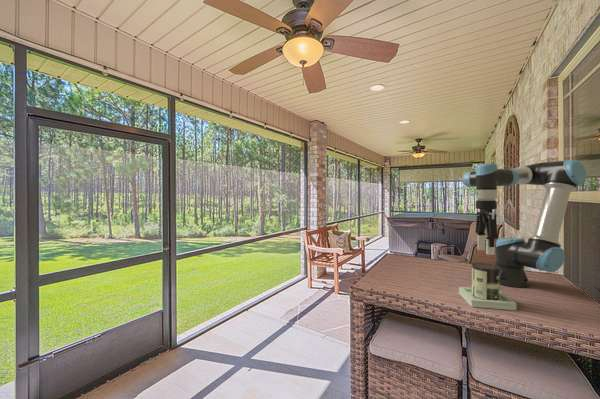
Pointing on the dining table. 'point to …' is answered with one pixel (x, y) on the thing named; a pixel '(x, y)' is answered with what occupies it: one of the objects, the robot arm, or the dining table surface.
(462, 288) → the base plate
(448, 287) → the dining table surface
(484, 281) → the coffee can
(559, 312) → the dining table surface
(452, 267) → the dining table surface
